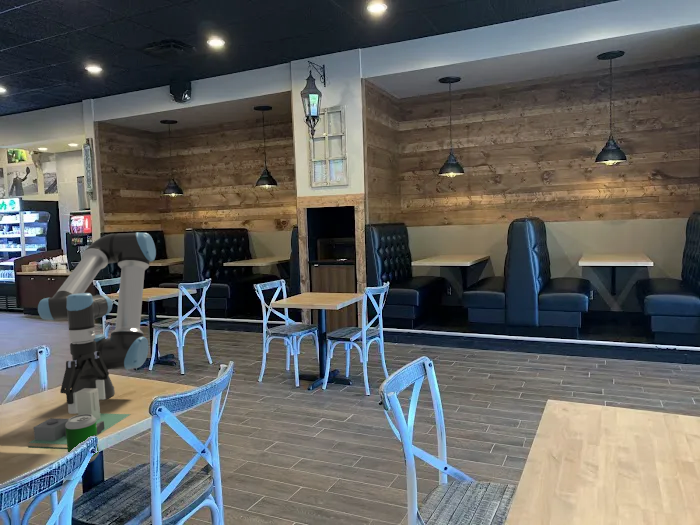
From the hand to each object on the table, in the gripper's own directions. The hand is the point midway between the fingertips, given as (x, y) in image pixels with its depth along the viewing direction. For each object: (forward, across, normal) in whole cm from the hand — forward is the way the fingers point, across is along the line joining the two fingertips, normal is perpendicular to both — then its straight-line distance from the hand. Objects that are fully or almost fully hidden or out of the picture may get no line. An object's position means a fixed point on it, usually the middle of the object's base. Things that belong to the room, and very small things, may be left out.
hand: (87, 405), depth 171 cm
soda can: (+7, -24, -16) cm, 29 cm away
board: (+7, -6, -2) cm, 9 cm away
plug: (+5, 0, 0) cm, 5 cm away
